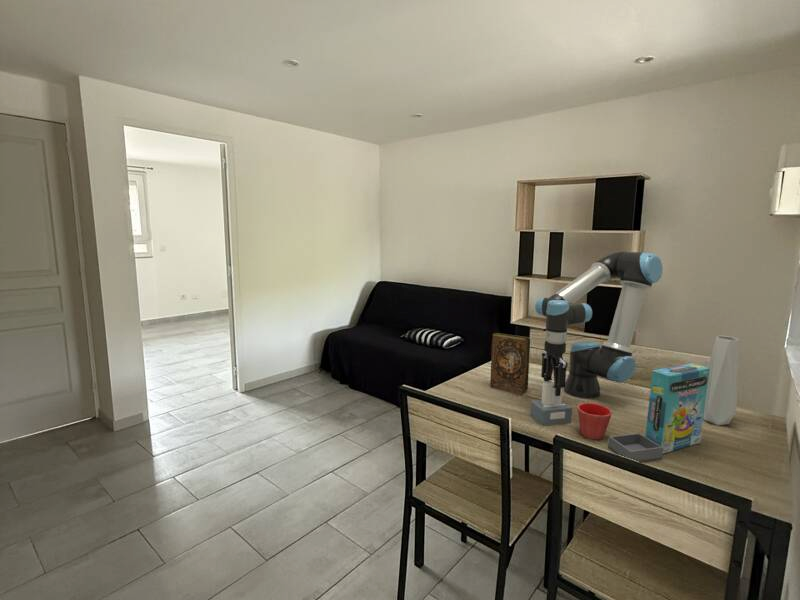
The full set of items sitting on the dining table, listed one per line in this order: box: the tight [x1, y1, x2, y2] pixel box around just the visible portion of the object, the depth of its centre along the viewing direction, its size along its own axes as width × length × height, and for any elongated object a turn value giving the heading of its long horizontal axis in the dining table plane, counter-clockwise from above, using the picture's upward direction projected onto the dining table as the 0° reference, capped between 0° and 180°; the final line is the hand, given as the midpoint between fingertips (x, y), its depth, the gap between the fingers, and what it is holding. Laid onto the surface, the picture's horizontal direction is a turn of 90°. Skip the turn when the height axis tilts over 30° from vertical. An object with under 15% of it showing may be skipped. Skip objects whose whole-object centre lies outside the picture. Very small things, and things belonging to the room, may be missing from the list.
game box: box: [644, 362, 710, 455], centre depth 142 cm, size 20×6×27 cm, turn 114°
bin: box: [607, 432, 664, 463], centre depth 139 cm, size 12×10×4 cm
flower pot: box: [577, 402, 613, 440], centre depth 151 cm, size 11×11×10 cm
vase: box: [703, 335, 740, 426], centre depth 160 cm, size 12×12×33 cm
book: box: [489, 332, 531, 395], centre depth 191 cm, size 16×6×25 cm, turn 58°
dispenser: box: [529, 399, 573, 426], centre depth 163 cm, size 12×9×6 cm
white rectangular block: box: [541, 381, 563, 406], centre depth 162 cm, size 7×2×12 cm, turn 102°
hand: (551, 400), depth 162 cm, fingers open, 5 cm apart
